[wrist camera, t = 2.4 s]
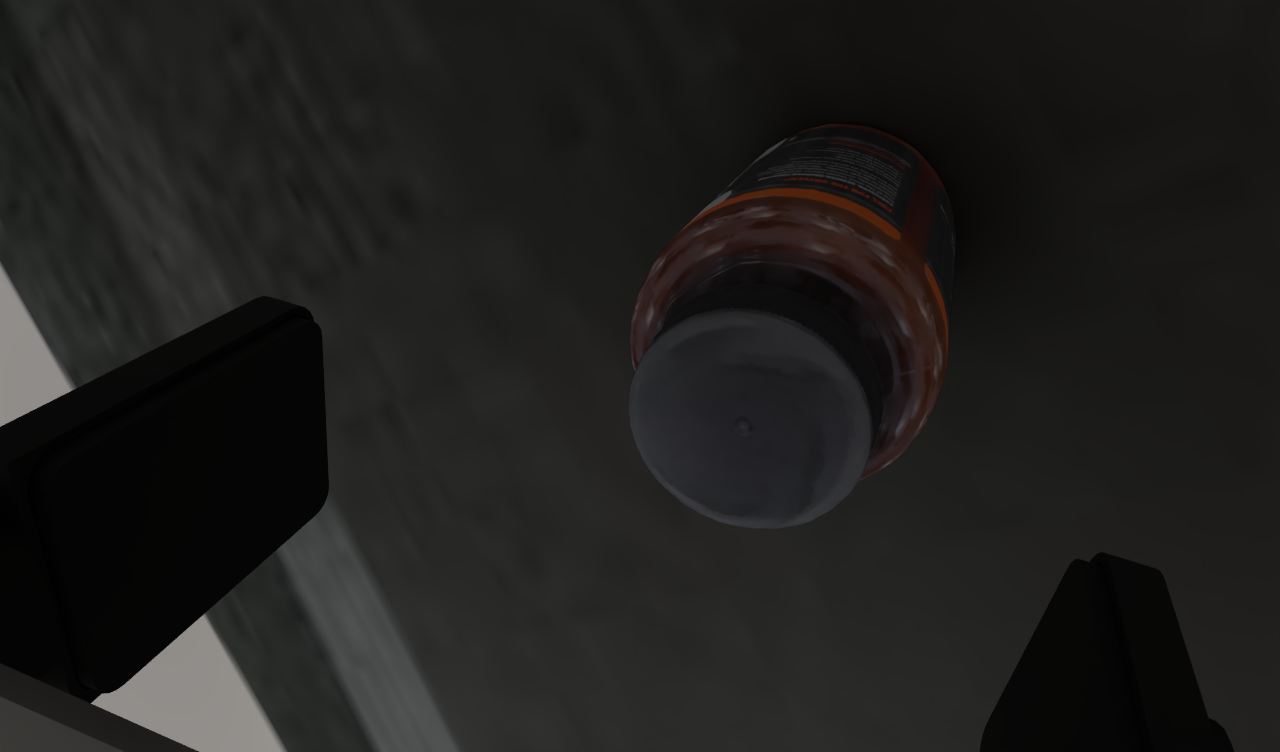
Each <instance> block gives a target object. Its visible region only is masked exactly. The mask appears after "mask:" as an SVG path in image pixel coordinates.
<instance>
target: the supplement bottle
mask: <svg viewBox="0 0 1280 752" xmlns="http://www.w3.org/2000/svg"><path fill="white" fill-rule="evenodd" d="M955 253H956V230H955V221H954V214H953V211H952V207H951V203H950V200H949V197H948V195H947V192H946V190H945V188H944V185H943V183H942V182H941V180H940V178H939V177H938V175H937V174H936V172H935V171H934V169H933V168H932V167H931V165H930V164H929V163H928V162H927V161H926V160H925V159H924V158H923V156H921V155H920V153H919V152H918V151H917V150H915V149H914V148H913V147H912V146H910V145H909V144H907V143H906V142H904V141H903V140H901V139H899V138H897V137H895V136H893V135H891V134H888V133H886V132H883V131H881V130H878V129H874V128H871V127H866V126H861V125H852V124H827V125H822V126H818V127H814V128H810V129H806V130H803V131H801V132H799V133H797V134H794V135H792V136H790V137H788V138H786V139H784V140H782V141H780V142H779V143H777V144H776V145H774V146H773V147H771V148H770V149H768V150H767V151H766V152H764V153H763V154H762V155H761V156H760V157H759V158H758V159H756V160H755V161H754V162H753V163H752V164H751V165H750V166H749V167H748V168H747V169H746V170H745V171H743V172H742V173H741V174H740V175H739V176H738V177H737V178H736V179H735V180H734V181H733V182H732V183H731V184H730V185H729V186H728V187H727V188H726V189H724V190H723V191H722V192H721V193H720V194H719V195H718V196H717V197H716V198H715V199H714V200H713V201H712V202H710V204H709V205H708V206H706V207H705V208H704V209H703V210H702V211H701V212H700V213H699V214H698V215H697V216H696V217H695V218H694V219H693V220H692V221H691V222H690V223H689V224H687V225H686V226H685V227H684V228H683V229H682V231H681V232H679V233H678V234H677V235H676V236H675V237H674V238H673V239H672V240H671V241H670V242H669V244H668V245H667V246H666V247H665V248H664V249H663V250H662V252H661V253H660V254H659V255H658V257H657V258H656V260H655V261H654V263H653V265H652V266H651V268H650V270H649V272H648V273H647V275H646V277H645V280H644V282H643V284H642V287H641V289H640V292H639V294H638V297H637V299H636V302H635V307H634V311H633V317H632V321H631V326H632V328H631V334H630V348H631V356H632V364H633V367H634V370H635V373H634V375H633V379H632V383H631V389H630V394H629V417H630V425H631V429H632V433H633V437H634V440H635V442H636V445H637V447H638V450H639V451H640V453H641V456H642V458H643V460H644V461H645V463H646V465H647V467H648V468H649V470H650V471H651V472H652V473H653V475H654V476H655V477H656V478H657V480H658V481H659V482H660V483H661V484H662V485H663V486H664V487H665V488H666V489H667V490H668V491H669V492H670V493H671V494H673V495H674V496H675V497H677V498H678V499H679V500H680V501H681V502H682V503H683V504H685V505H687V506H688V507H690V508H692V509H693V510H695V511H697V512H699V513H700V514H702V515H705V516H707V517H710V518H712V519H714V520H716V521H718V522H720V523H726V524H729V525H734V526H739V527H747V528H756V529H762V528H767V529H771V530H775V529H779V528H782V527H790V526H796V525H800V524H803V523H806V522H810V521H812V520H814V519H815V518H817V517H819V516H821V515H823V514H825V513H827V512H828V511H830V510H832V509H834V508H835V507H836V506H837V505H838V504H839V503H840V502H841V501H842V500H843V499H845V498H846V497H847V496H848V495H849V494H850V493H851V492H852V490H853V489H854V487H855V486H856V484H857V483H858V481H861V480H863V479H865V478H867V477H868V476H870V475H873V474H874V473H876V472H878V471H880V470H881V469H883V468H884V467H886V466H887V465H889V464H891V463H892V462H893V461H894V460H895V459H896V458H897V457H899V456H900V455H901V454H902V453H903V452H904V451H905V450H906V449H907V448H908V447H909V445H910V444H911V443H912V442H913V441H914V440H915V439H916V438H917V436H918V435H919V434H920V432H921V431H922V430H923V427H924V426H925V425H926V423H927V420H928V418H929V416H930V415H931V413H932V411H933V409H934V407H935V404H936V401H937V398H938V395H939V393H940V390H941V387H942V384H943V380H944V375H945V371H946V365H947V354H948V343H949V339H950V322H951V309H952V292H953V278H954V265H955V264H954V260H955Z"/></svg>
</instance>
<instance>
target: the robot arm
mask: <svg viewBox="0 0 1280 752" xmlns="http://www.w3.org/2000/svg"><path fill="white" fill-rule="evenodd" d="M328 490H329V479H328V457H327V434H326V412H325V390H324V368H323V346H322V333H321V329H320V327H319V325H318V324H317V323H315V322H314V319H313V316H312V314H311V313H310V311H309V310H307V309H306V308H305V307H301V306H298V305H295V304H292V303H288V302H285V301H282V300H279V299H275V298H272V297H267V296H262V297H259V298H256V299H254V300H252V301H250V302H248V303H246V304H244V305H242V306H240V307H238V308H236V309H234V310H232V311H230V312H228V313H226V314H224V315H222V316H220V317H218V318H216V319H214V320H212V321H210V322H208V323H206V324H204V325H202V326H200V327H198V328H196V329H194V330H192V331H190V332H188V333H186V334H184V335H182V336H180V337H178V338H176V339H174V340H172V341H170V342H168V343H166V344H164V345H162V346H160V347H158V348H156V349H154V350H152V351H150V352H148V353H146V354H144V355H142V356H140V357H138V358H136V359H134V360H132V361H130V362H128V363H126V364H124V365H122V366H120V367H118V368H116V369H114V370H112V371H110V372H109V373H107V374H105V375H103V376H101V377H99V378H97V379H95V380H93V381H91V382H89V383H87V384H85V385H83V386H81V387H79V388H77V389H75V390H73V391H71V392H69V393H67V394H65V395H63V396H61V397H59V398H57V399H55V400H53V401H51V402H49V403H47V404H45V405H43V406H41V407H39V408H37V409H35V410H33V411H31V412H29V413H27V414H25V415H23V416H21V417H19V418H17V419H15V420H13V421H11V422H9V423H7V424H5V425H3V426H1V427H0V752H198V751H196V750H194V749H191V748H189V747H187V746H185V745H183V744H180V743H178V742H176V741H173V740H171V739H169V738H167V737H164V736H162V735H160V734H158V733H156V732H153V731H151V730H149V729H147V728H144V727H142V726H140V725H138V724H135V723H133V722H131V721H129V720H126V719H124V718H122V717H120V716H117V715H115V714H113V713H111V712H108V711H106V710H104V709H102V708H99V707H97V706H95V705H93V704H90V703H92V702H93V701H94V700H95V699H96V698H97V697H98V696H100V695H101V694H102V693H110V692H113V691H115V690H117V689H119V688H120V687H121V686H123V685H124V684H125V683H126V682H127V681H129V680H130V679H131V678H132V677H133V676H134V675H135V674H136V673H138V672H139V671H140V670H141V669H142V668H143V667H144V666H146V665H147V664H148V663H149V662H150V661H151V660H152V659H153V658H154V657H156V656H157V655H158V654H159V653H160V652H161V651H162V650H164V649H165V648H166V647H167V646H168V645H169V644H170V643H172V642H173V641H174V640H175V639H176V638H177V637H178V636H179V635H181V634H182V633H183V632H184V631H185V630H186V629H187V628H188V627H190V626H191V625H192V624H193V623H194V622H195V621H196V620H198V619H199V618H200V617H201V616H202V615H203V614H204V613H206V612H207V611H208V610H209V609H210V608H211V607H212V606H213V605H215V604H216V603H217V602H218V601H219V600H220V599H221V598H223V597H224V596H225V595H226V594H227V593H228V592H229V591H230V590H232V589H233V588H234V587H235V586H236V585H237V584H238V583H240V582H241V581H242V580H243V579H244V578H245V577H246V576H247V575H249V574H250V573H251V572H252V571H253V570H254V569H255V568H257V567H258V566H259V565H260V564H261V563H262V562H263V561H264V560H266V559H267V558H268V557H269V556H270V555H271V554H272V553H273V552H275V551H276V550H277V549H278V548H279V547H280V546H281V545H283V544H284V543H285V542H286V541H287V540H288V539H289V538H290V537H292V536H293V535H294V534H295V533H296V532H297V531H298V530H300V529H301V528H302V527H303V526H304V525H305V524H306V523H307V522H309V521H310V520H311V519H312V518H313V517H314V516H315V515H316V514H317V513H318V512H319V511H320V510H321V508H322V507H323V505H324V503H325V501H326V499H327V495H328ZM980 752H1234V750H1233V747H1232V744H1231V742H1230V740H1229V738H1228V736H1227V734H1226V732H1225V730H1224V728H1223V727H1222V726H1220V725H1219V724H1218V723H1217V722H1216V721H1215V720H1212V719H1209V718H1208V715H1207V712H1206V709H1205V706H1204V702H1203V699H1202V696H1201V693H1200V690H1199V687H1198V683H1197V680H1196V677H1195V674H1194V671H1193V668H1192V664H1191V661H1190V658H1189V655H1188V652H1187V649H1186V645H1185V642H1184V639H1183V636H1182V633H1181V630H1180V627H1179V623H1178V620H1177V617H1176V614H1175V611H1174V608H1173V604H1172V601H1171V598H1170V595H1169V592H1168V589H1167V585H1166V582H1165V579H1164V577H1163V575H1162V573H1161V571H1159V570H1157V569H1155V568H1152V567H1149V566H1146V565H1142V564H1139V563H1136V562H1133V561H1129V560H1126V559H1123V558H1120V557H1116V556H1113V555H1110V554H1107V553H1103V552H1101V553H1097V554H1096V555H1095V556H1094V557H1093V558H1092V559H1091V561H1090V562H1086V561H1083V560H1080V559H1075V560H1074V561H1073V562H1072V563H1071V564H1070V565H1069V567H1068V569H1067V570H1066V572H1065V574H1064V576H1063V578H1062V580H1061V582H1060V584H1059V586H1058V588H1057V590H1056V592H1055V593H1054V595H1053V597H1052V599H1051V601H1050V603H1049V605H1048V607H1047V609H1046V611H1045V613H1044V615H1043V616H1042V618H1041V620H1040V622H1039V624H1038V626H1037V628H1036V630H1035V632H1034V634H1033V636H1032V638H1031V639H1030V641H1029V643H1028V645H1027V647H1026V649H1025V651H1024V653H1023V655H1022V657H1021V659H1020V661H1019V663H1018V664H1017V666H1016V668H1015V670H1014V672H1013V674H1012V676H1011V678H1010V680H1009V682H1008V684H1007V686H1006V687H1005V689H1004V691H1003V693H1002V695H1001V697H1000V699H999V701H998V703H997V705H996V707H995V709H994V710H993V712H992V714H991V716H990V718H989V720H988V722H987V724H986V727H985V730H984V733H983V736H982V741H981V747H980Z"/></svg>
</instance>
